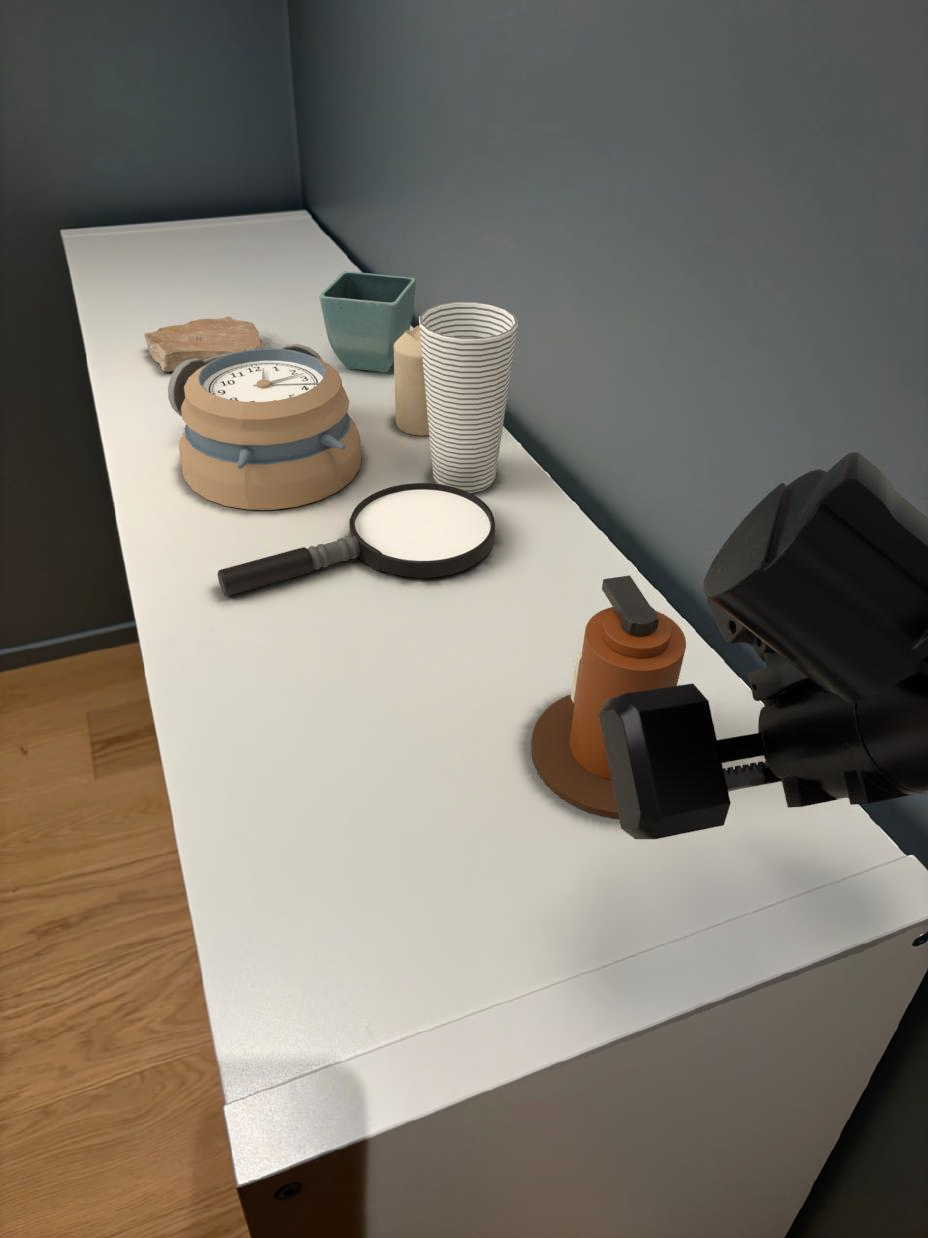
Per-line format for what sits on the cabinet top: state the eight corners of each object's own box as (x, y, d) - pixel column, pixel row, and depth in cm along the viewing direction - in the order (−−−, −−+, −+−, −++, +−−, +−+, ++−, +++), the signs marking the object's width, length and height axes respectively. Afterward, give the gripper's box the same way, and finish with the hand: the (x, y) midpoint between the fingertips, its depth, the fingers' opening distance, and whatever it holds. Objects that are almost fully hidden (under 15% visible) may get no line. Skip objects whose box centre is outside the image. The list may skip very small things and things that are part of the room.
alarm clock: (186, 432, 75) (140, 328, 91) (203, 527, 81) (157, 414, 97) (383, 398, 80) (307, 305, 97) (386, 489, 86) (314, 388, 102)
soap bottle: (675, 772, 59) (709, 637, 52) (588, 789, 58) (611, 653, 51) (635, 701, 64) (661, 570, 57) (554, 716, 63) (570, 583, 56)
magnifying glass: (200, 553, 78) (196, 532, 76) (452, 487, 87) (452, 467, 85) (248, 640, 69) (244, 617, 68) (520, 556, 78) (522, 535, 77)
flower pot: (347, 344, 112) (343, 269, 106) (417, 352, 111) (417, 276, 105) (323, 373, 105) (317, 295, 100) (397, 383, 104) (396, 304, 98)
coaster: (725, 742, 62) (726, 736, 62) (647, 848, 55) (649, 842, 55) (585, 673, 67) (586, 667, 67) (498, 763, 60) (499, 756, 60)
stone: (255, 331, 114) (252, 311, 112) (267, 372, 105) (264, 350, 104) (147, 341, 111) (142, 321, 109) (149, 384, 102) (145, 362, 101)
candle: (397, 437, 94) (395, 342, 88) (393, 412, 98) (391, 320, 92) (451, 435, 95) (452, 341, 88) (445, 410, 99) (446, 319, 93)
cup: (519, 495, 86) (531, 334, 76) (430, 506, 84) (431, 343, 74) (493, 451, 92) (501, 297, 82) (410, 460, 90) (408, 304, 81)
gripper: (1044, 502, 40) (816, 591, 54) (660, 537, 34) (521, 627, 49) (1121, 760, 38) (862, 781, 52) (725, 843, 32) (560, 840, 47)
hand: (708, 752), depth 50 cm, fingers open, 9 cm apart
